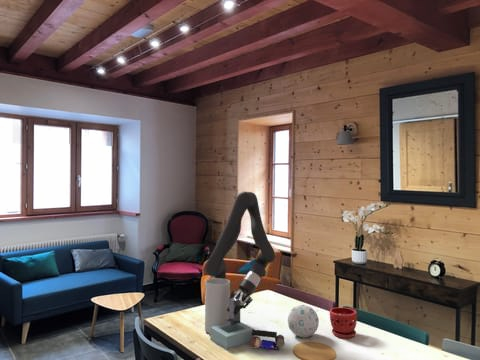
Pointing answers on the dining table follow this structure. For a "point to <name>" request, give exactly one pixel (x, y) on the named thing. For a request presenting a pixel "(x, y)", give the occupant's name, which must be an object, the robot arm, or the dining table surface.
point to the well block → (231, 335)
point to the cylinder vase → (216, 302)
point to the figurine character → (257, 342)
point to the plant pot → (343, 322)
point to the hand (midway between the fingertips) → (231, 312)
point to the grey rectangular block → (232, 318)
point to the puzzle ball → (303, 321)
